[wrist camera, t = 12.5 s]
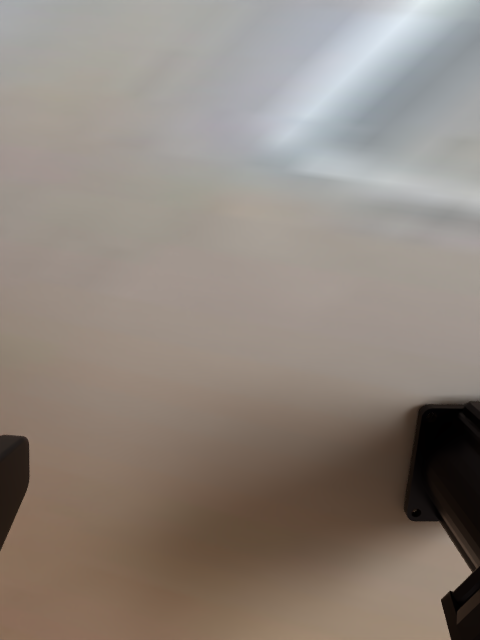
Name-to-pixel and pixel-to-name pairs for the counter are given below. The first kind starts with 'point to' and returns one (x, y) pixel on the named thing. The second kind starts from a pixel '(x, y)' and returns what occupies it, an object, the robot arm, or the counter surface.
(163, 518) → the counter surface
